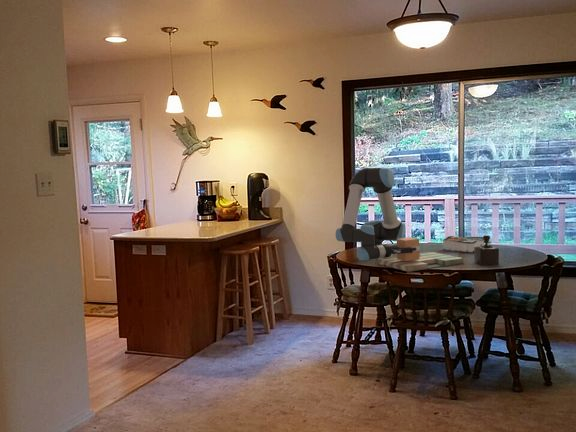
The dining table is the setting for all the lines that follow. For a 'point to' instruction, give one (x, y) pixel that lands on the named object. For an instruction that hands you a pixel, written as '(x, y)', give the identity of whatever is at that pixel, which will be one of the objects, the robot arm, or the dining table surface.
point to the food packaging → (462, 243)
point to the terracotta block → (406, 244)
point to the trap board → (422, 262)
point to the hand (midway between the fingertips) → (414, 247)
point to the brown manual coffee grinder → (486, 253)
